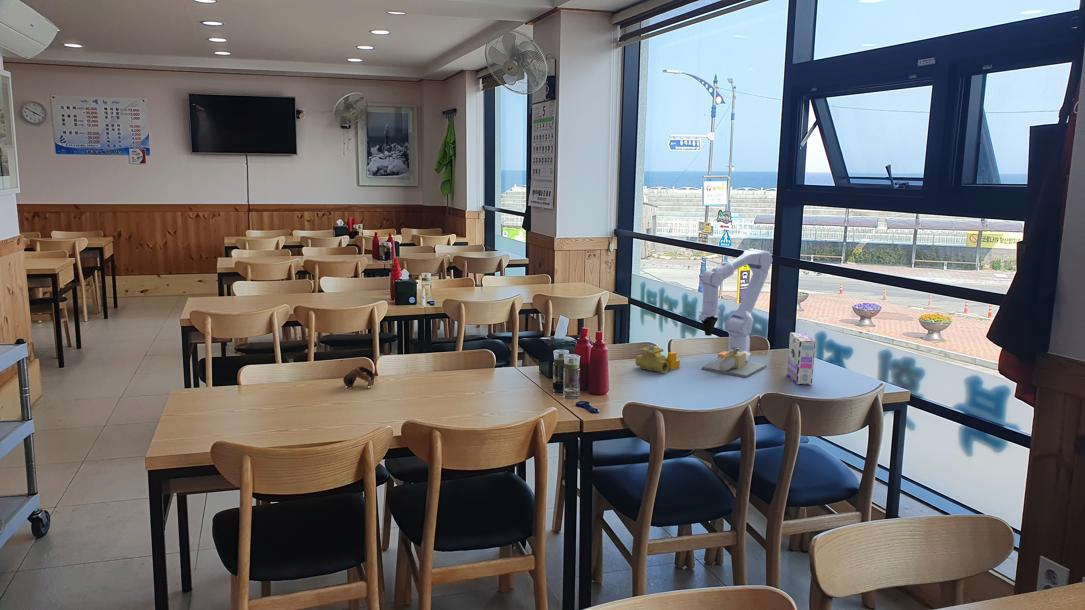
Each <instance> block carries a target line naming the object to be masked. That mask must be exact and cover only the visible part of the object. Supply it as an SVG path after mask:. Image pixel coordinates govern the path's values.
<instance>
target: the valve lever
mask: <svg viewBox="0 0 1085 610" xmlns="http://www.w3.org/2000/svg"><path fill="white" fill-rule="evenodd" d="M736 351H739V348H737V347H732V349H730V350H728V349H727V350H723V351H721V352H719V353H717V358H718V359H720V358H725V357H727V356H729V354H731V353H733V352H736Z"/></svg>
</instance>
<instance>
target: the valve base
mask: <svg viewBox="0 0 1085 610" xmlns="http://www.w3.org/2000/svg"><path fill="white" fill-rule="evenodd" d="M749 353H750V352H749ZM749 353H748V352H747V351H742V352H738V351H736V352H733V353H731V354H729V356H727V357H725V358H718V359H716V360H714V361H712V362H709V363H707V364H705V365H702V366H701V370H704V371H709V372H714V373H719V374H724V375H729V376H735V377H740V378H745V379H747V378H749V377H752V375H755V374H756V373H758V372H761V371H762V370H764V369H765V368H767V364H766V363H760V362H755V361H754V362H753V361H749V360H750V358H751V355H750V354H749Z"/></svg>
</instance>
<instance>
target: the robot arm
mask: <svg viewBox="0 0 1085 610" xmlns="http://www.w3.org/2000/svg"><path fill="white" fill-rule="evenodd" d="M773 262H774V261H773V257H772V254H771V252H770V251H768V250H760V249H754V248H751V247H750V248H748V249H747V250H744V251H743V253H742V254H741V255H739V256H738V257H736V258H735V259H734V260H732V261H730V262H729V261H723V262H721V263H720V264H719V265H717V266H716V267H713V268H712V269H710V270H705V271H704V272H703V273H702V274H701V277H700V282H701V284H702V292H703V293H702V308H701V309H702V310H700V311H699V315H698V321H701V323H702V326H703V331H704V336H708V337H711V336H712V334H713V332H714V327H715V326H716V323H717V321H718V320H719V317H718V316H719V315H720V314H721V309H718V305H719V304H718V302H719V287H720V286H721V284H722V283H723V282H724V281H725V280H726V279H728V278H729V277H732V276H734V274H735V271H736V270H739V269H740V268H743V267H744V266H748V268H749V270H750V271H751V272H752V275H751V278H750V280H749V283H748V284H747V287H746V289H745V291H744V294H743V297H742V298H741V301H740V304H739V306H738V307H737V309H736V310H734V311H732V312H731V313H730V315H729V317H728V318H726V320H725V323H724V325H725V330H727V334H729V335H728V347H727V351H728V350H730V349H732V347H737V348H739V351H738V352H742V351H747V352H748V353H749V354H750V356H752V353H751V352H750V350H751V349H750V347H751V337H750V334H751V332H752V330H753V324H754V321H755V320H754V318H753V316H752V312H753V310H754V308H755V305H756V302H757V301H758V299H759V296H760V293H761V291H762V290H763V286H764V285H765V282H766V279H767V278H768V276H769V270H770V267H771V265H772V263H773Z"/></svg>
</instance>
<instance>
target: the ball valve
mask: <svg viewBox="0 0 1085 610" xmlns="http://www.w3.org/2000/svg"><path fill="white" fill-rule="evenodd" d="M654 346H655V345H654V344H649V346H646V347H642V348H639V351H640V352H643V353H644V352H645V354H638V355H636V357H635V365H636V366H637V367H640V369H642V370H646V371H650V372H654V371H657V372H659V373H662V374H663V373H664V374H665V373H667V372H669V371H668V370H669V369H668V368H669V363H668V362H667V359H666V358H667V357H666V356H665V355H664V354H661V353H662V352H664V349H663V348H660V347H659V348H654ZM659 352H660V355H657V356H656V355H655V354H656V353H659Z"/></svg>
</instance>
